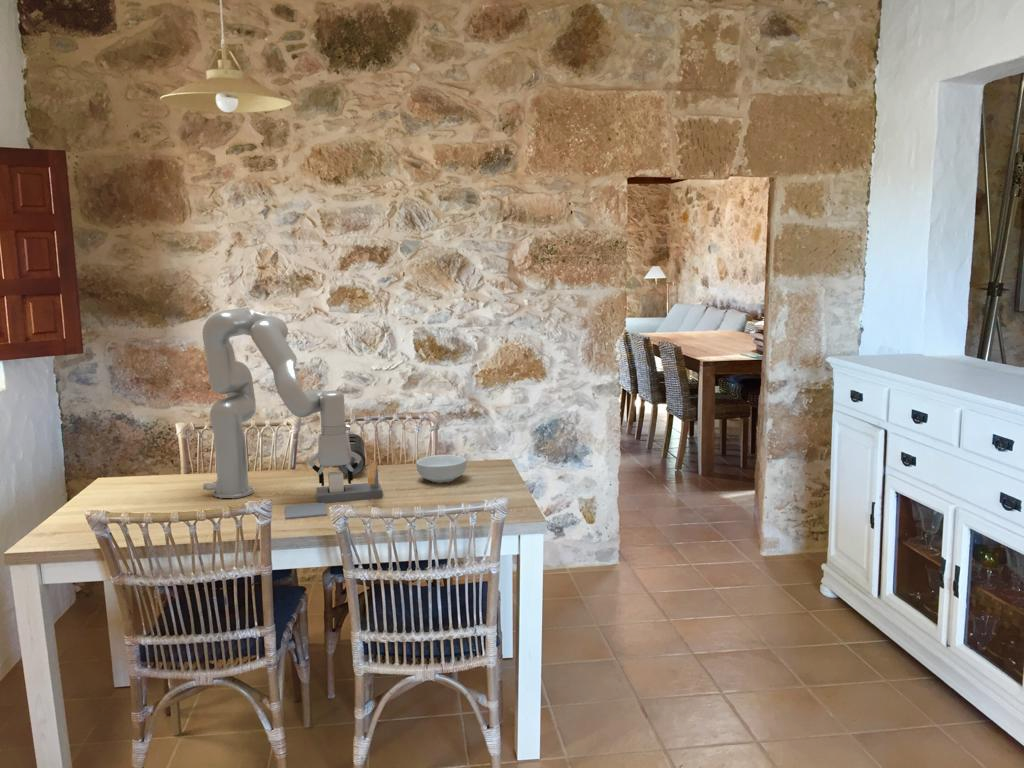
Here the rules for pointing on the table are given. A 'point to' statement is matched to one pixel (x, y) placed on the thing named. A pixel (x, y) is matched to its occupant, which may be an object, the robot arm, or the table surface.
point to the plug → (336, 482)
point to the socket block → (351, 492)
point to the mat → (305, 510)
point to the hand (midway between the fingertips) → (336, 483)
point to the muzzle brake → (357, 449)
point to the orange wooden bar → (372, 472)
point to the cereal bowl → (441, 467)
